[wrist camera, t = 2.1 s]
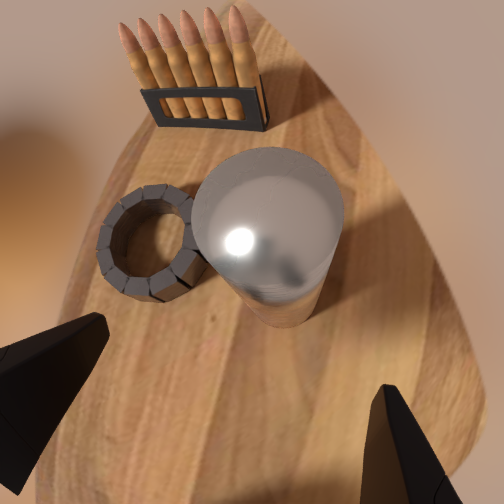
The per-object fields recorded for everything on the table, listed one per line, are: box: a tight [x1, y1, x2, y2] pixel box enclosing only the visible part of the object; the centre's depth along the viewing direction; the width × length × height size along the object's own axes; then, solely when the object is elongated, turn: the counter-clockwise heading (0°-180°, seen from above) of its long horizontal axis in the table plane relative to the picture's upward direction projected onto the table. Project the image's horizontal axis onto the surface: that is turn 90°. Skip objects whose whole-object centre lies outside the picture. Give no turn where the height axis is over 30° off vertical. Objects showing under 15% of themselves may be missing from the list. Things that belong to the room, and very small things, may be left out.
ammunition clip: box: [119, 5, 270, 132], centre depth 21 cm, size 11×2×12 cm, turn 77°
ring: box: [96, 184, 208, 303], centre depth 22 cm, size 8×8×2 cm
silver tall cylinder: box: [191, 147, 344, 328], centre depth 15 cm, size 4×4×12 cm
